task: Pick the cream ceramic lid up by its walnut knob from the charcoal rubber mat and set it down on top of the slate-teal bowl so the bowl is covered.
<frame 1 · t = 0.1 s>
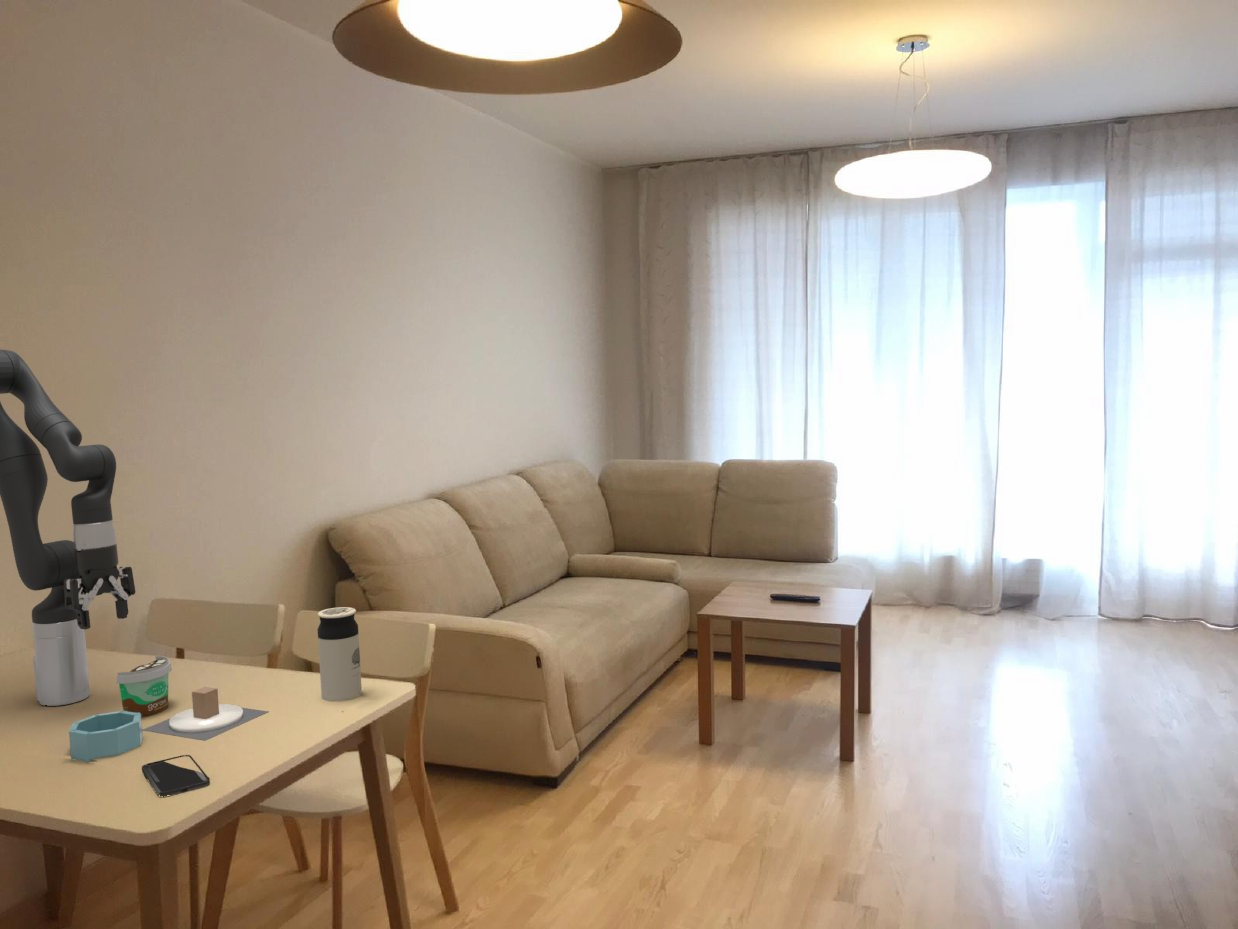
hand: (104, 623, 198), 17 cm above the table, tool pointing down, fingers open, 8 cm apart
food container: (154, 714, 194), on the table
travel mug: (342, 698, 201), on the table
mat: (207, 723, 187), on the table
phone: (175, 780, 162), on the table
bowl: (108, 749, 176), on the table
lid: (206, 720, 187), point 1 cm above the table, touching mat
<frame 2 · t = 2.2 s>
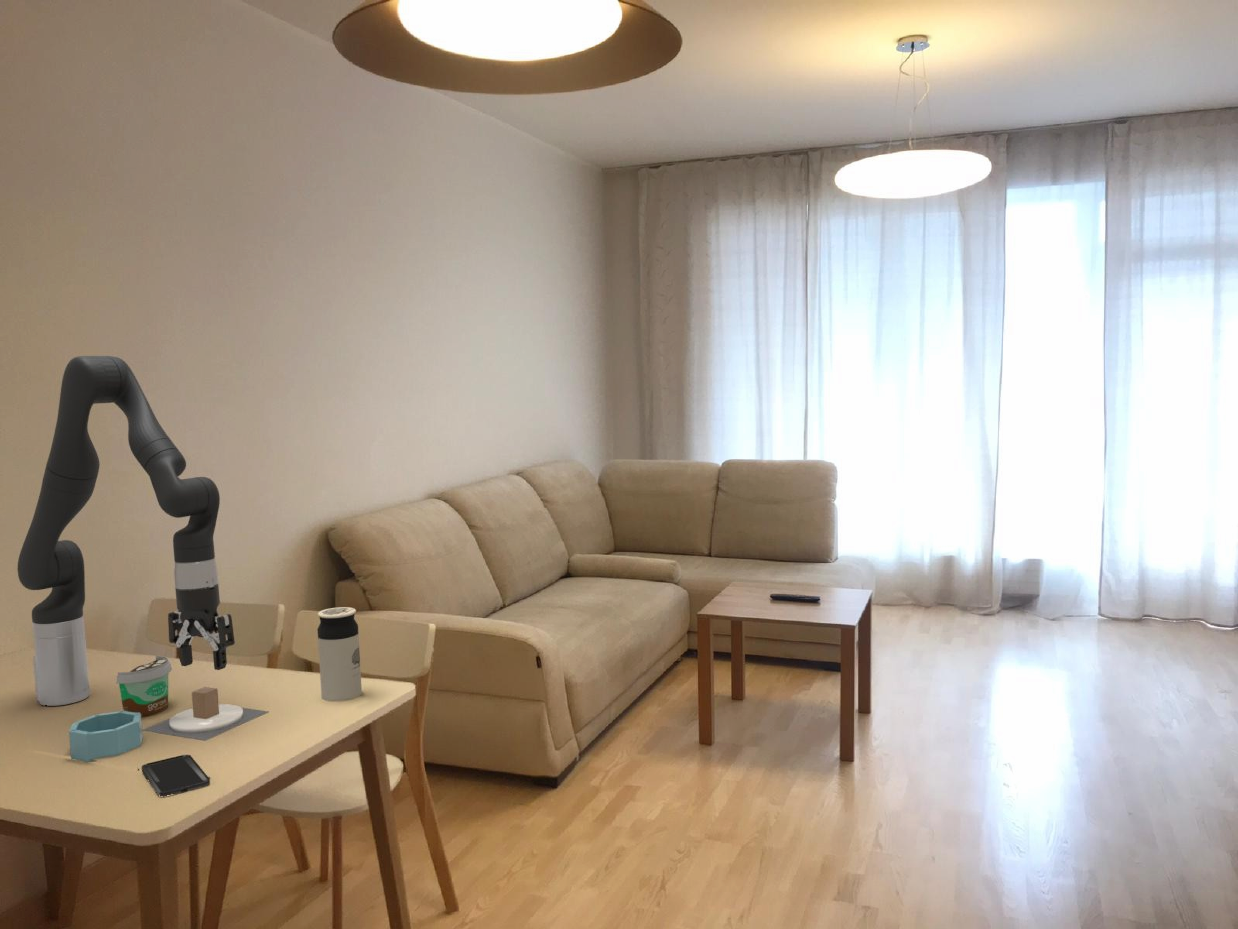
hand: (203, 667, 186), 11 cm above the table, tool pointing down, fingers open, 8 cm apart
nothing on the table moved.
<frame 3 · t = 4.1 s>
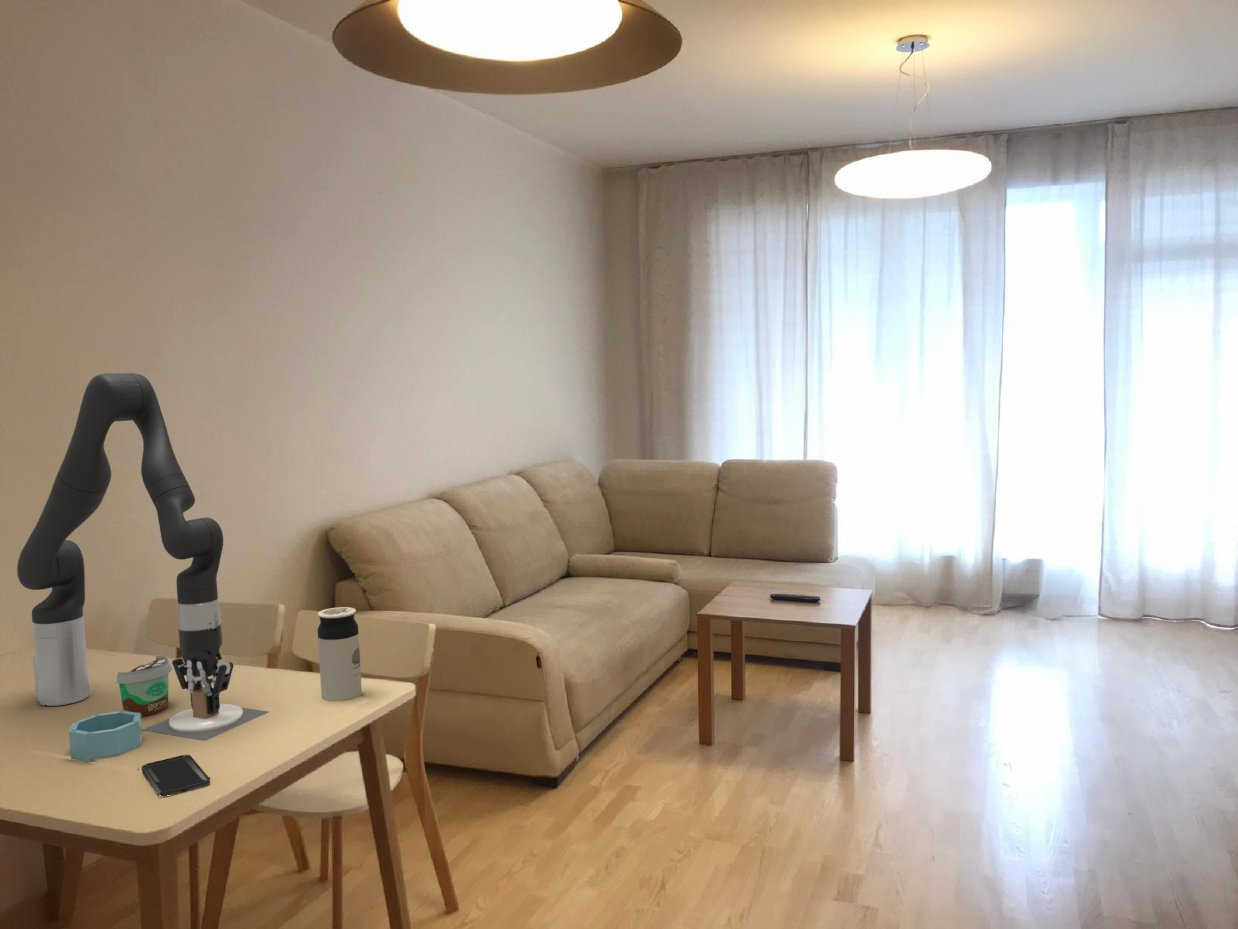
hand: (206, 711, 187), 2 cm above the table, tool pointing down, fingers closed on lid, 3 cm apart
lid: (206, 720, 187), point 1 cm above the table, touching gripper, mat
everything else where it was.
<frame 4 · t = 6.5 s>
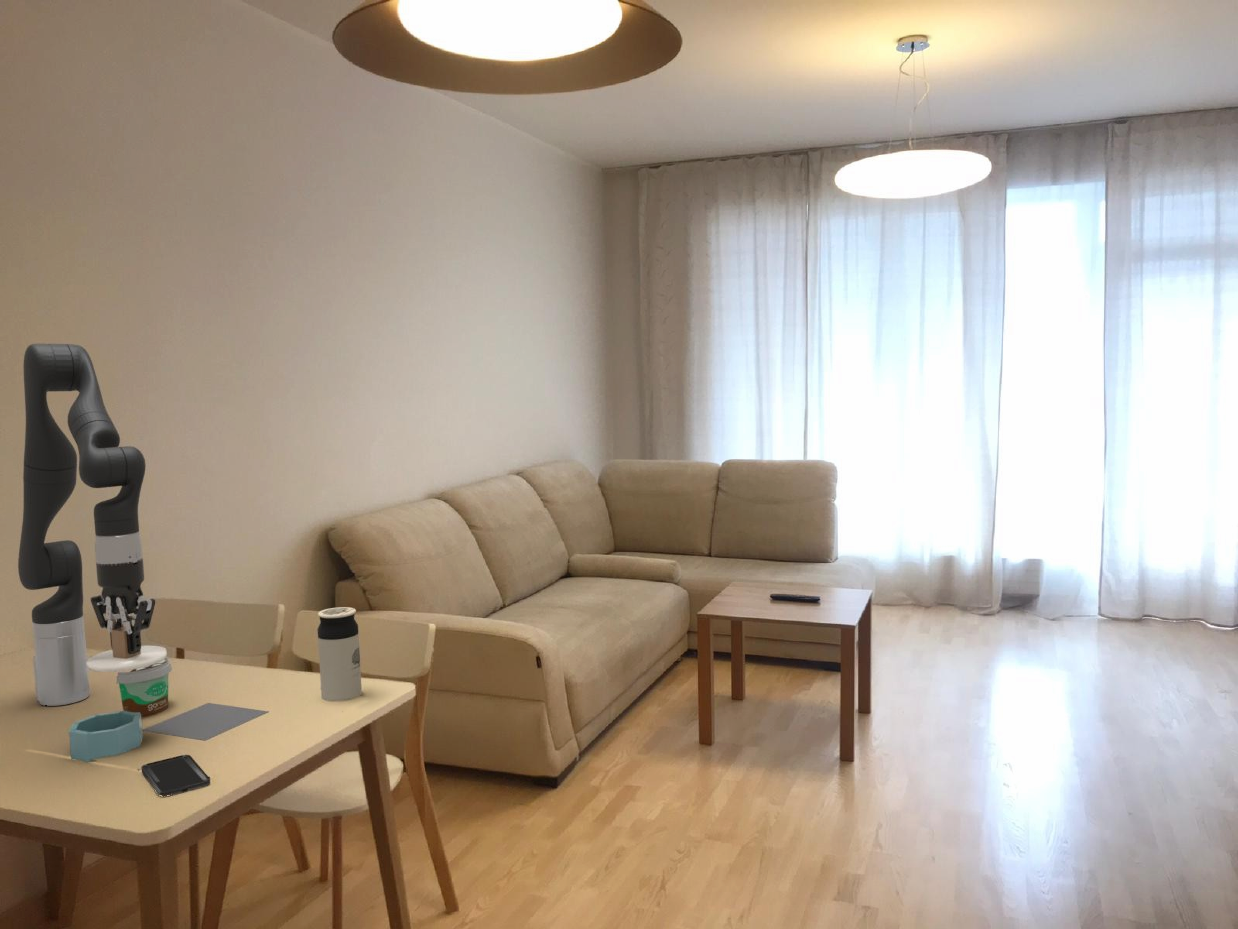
hand: (126, 651, 177), 17 cm above the table, tool pointing down, fingers closed on lid, 3 cm apart
lid: (127, 661, 177), point 15 cm above the table, touching gripper
everything else where it was.
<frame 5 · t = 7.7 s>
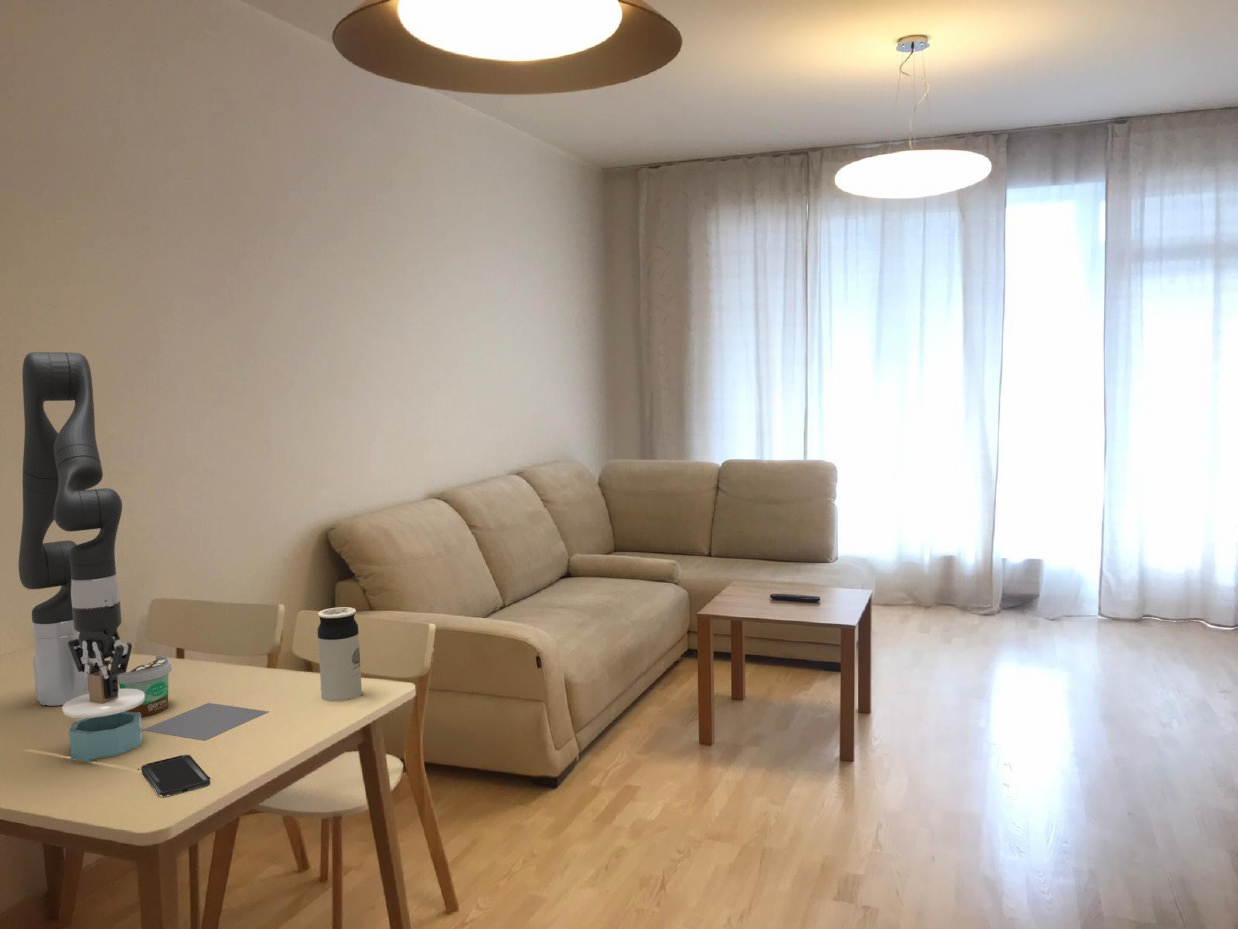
hand: (104, 696, 175), 10 cm above the table, tool pointing down, fingers closed on lid, 3 cm apart
lid: (104, 705, 175), point 8 cm above the table, touching gripper
everything else where it was.
when the fingers open (8 cm above the table, at t = 8.8 s): lid drops 1 cm, resting on bowl.
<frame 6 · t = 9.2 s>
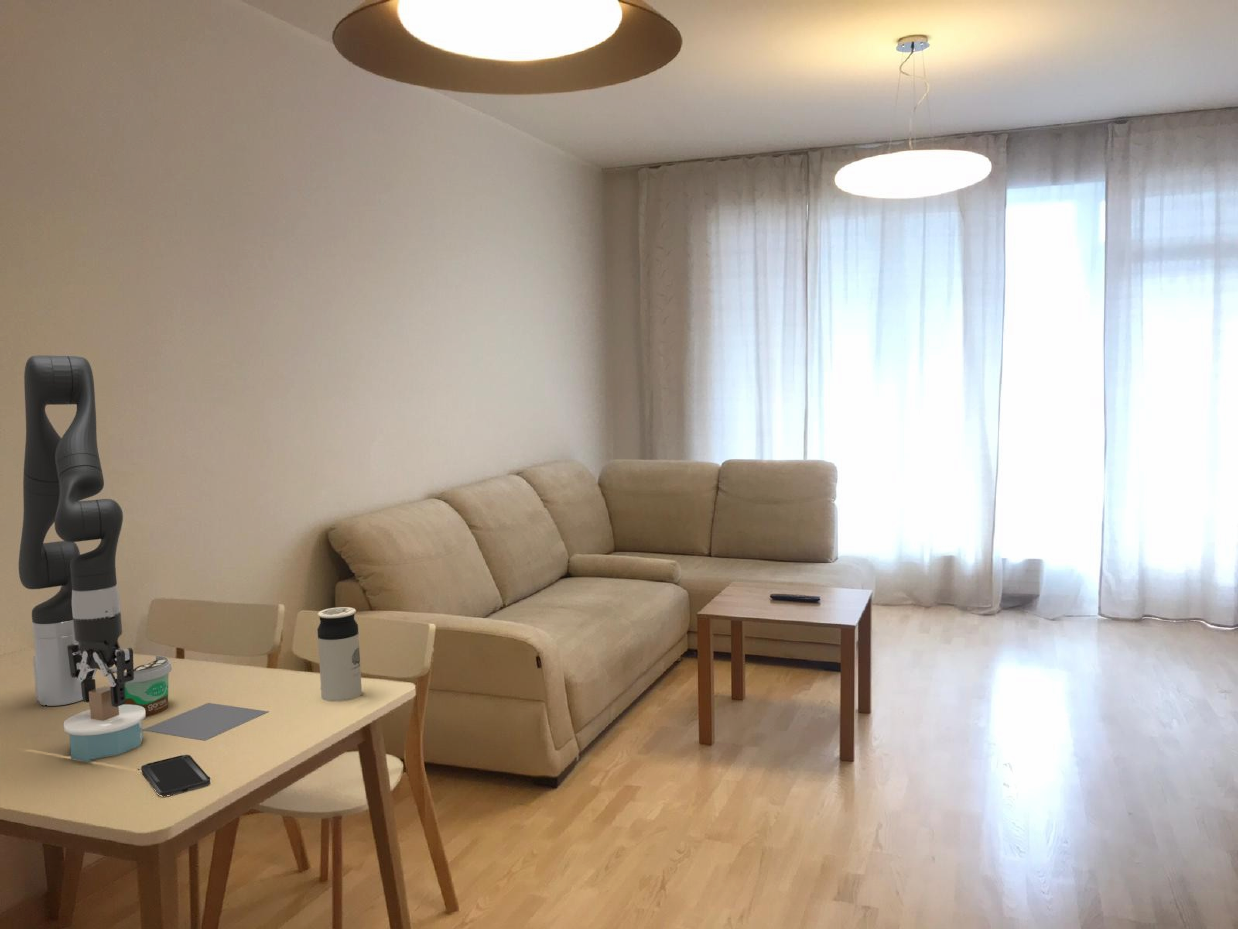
hand: (104, 703, 175), 9 cm above the table, tool pointing down, fingers open, 6 cm apart
lid: (105, 722, 175), point 5 cm above the table, touching bowl
everything else where it was.
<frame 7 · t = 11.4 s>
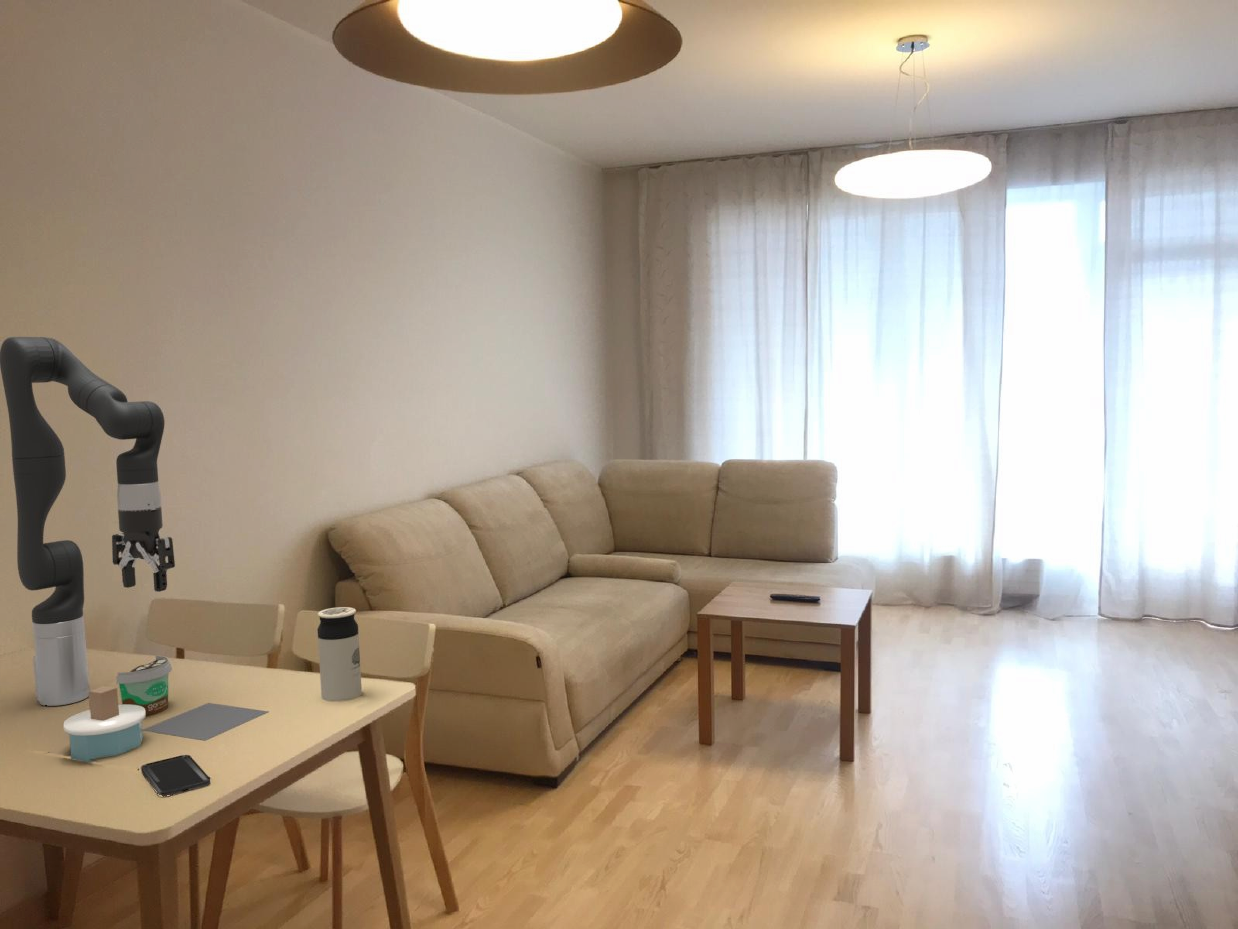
hand: (145, 588, 189), 26 cm above the table, tool pointing down, fingers open, 8 cm apart
nothing on the table moved.
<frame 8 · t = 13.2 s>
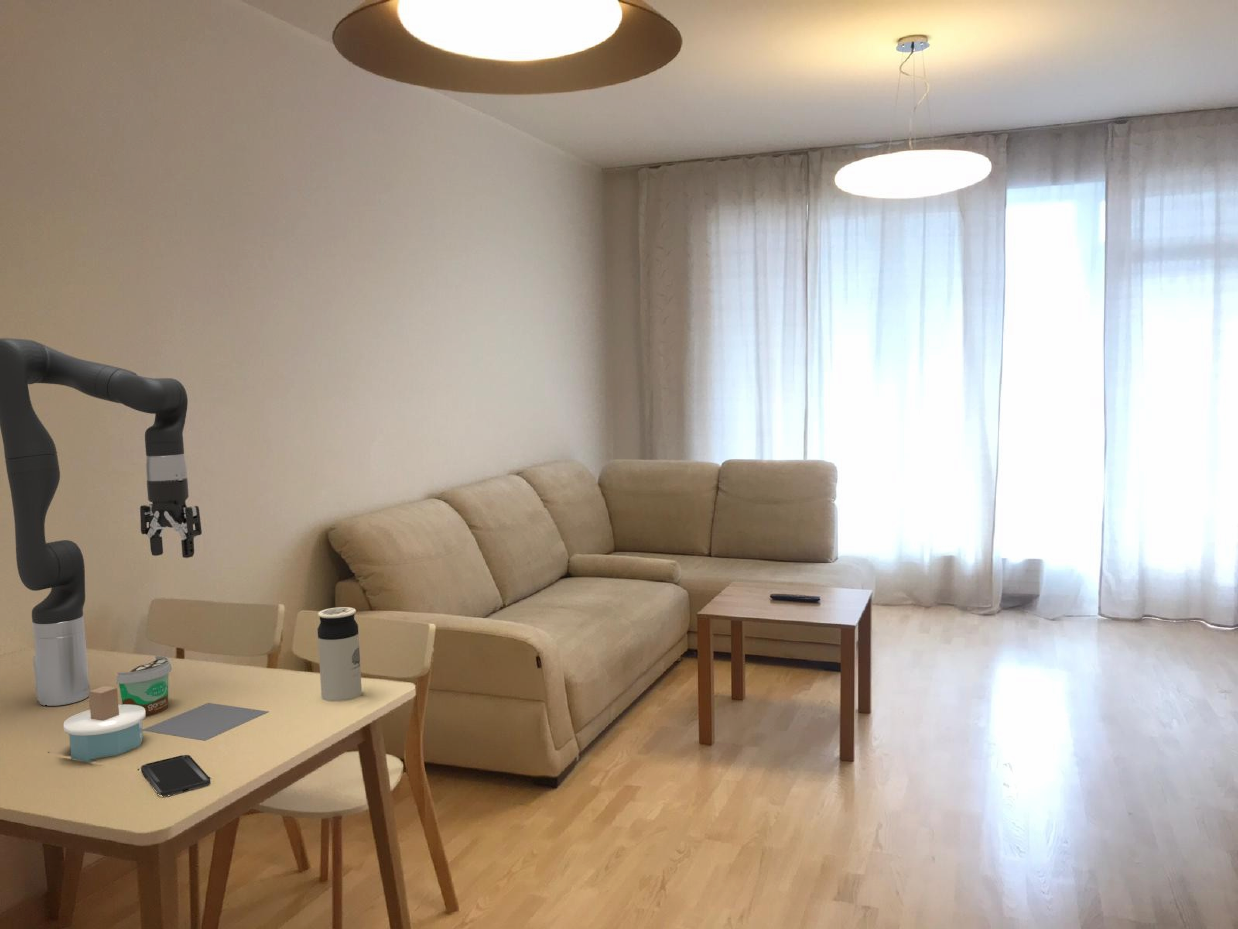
hand: (172, 556, 199), 30 cm above the table, tool pointing down, fingers open, 8 cm apart
nothing on the table moved.
at the end: lid 0.1 cm off-centre on the bowl, point 5.0 cm above the bowl's base; lid tilted 0°; the gripper is holding nothing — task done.
